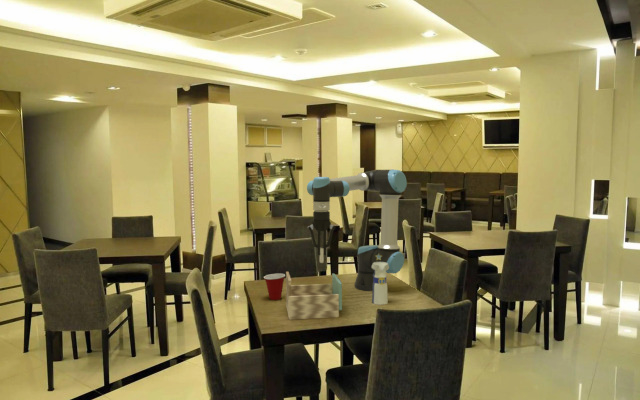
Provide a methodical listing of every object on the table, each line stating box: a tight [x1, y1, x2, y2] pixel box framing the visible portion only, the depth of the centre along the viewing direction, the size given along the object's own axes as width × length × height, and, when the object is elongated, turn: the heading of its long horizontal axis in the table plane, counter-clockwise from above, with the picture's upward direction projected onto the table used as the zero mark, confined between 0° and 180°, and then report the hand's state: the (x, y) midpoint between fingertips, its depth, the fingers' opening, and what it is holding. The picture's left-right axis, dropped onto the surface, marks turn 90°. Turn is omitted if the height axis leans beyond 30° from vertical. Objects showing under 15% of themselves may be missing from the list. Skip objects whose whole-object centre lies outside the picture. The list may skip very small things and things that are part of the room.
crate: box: [285, 271, 340, 321], centre depth 215 cm, size 22×20×17 cm
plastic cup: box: [263, 273, 286, 301], centre depth 237 cm, size 11×11×12 cm
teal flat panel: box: [331, 273, 343, 311], centre depth 217 cm, size 2×19×12 cm, turn 8°
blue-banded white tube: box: [371, 254, 389, 306], centre depth 229 cm, size 8×9×25 cm
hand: (321, 262), depth 215 cm, fingers closed
